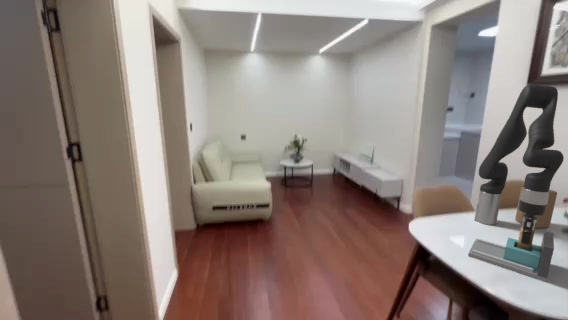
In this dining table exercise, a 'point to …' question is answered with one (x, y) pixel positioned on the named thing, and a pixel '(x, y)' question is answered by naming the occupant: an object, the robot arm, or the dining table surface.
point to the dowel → (525, 246)
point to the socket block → (522, 254)
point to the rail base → (496, 254)
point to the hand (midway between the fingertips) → (525, 240)
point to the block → (544, 219)
